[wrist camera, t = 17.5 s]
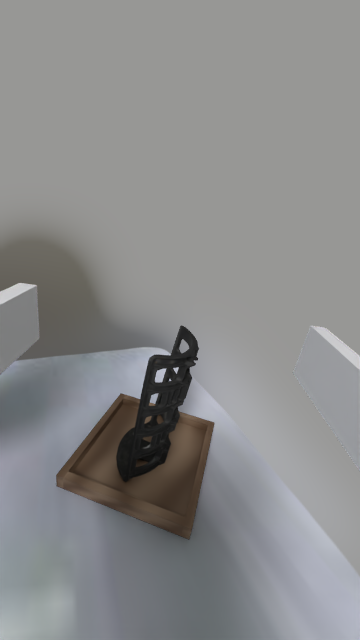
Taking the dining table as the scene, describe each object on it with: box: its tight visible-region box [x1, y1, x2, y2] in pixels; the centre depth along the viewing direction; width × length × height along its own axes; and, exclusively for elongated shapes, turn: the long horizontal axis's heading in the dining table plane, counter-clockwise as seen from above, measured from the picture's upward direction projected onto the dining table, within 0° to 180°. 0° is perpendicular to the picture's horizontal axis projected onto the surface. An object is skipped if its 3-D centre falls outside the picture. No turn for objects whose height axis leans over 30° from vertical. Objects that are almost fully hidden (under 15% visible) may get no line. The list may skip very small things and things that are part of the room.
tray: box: [56, 394, 214, 539], centre depth 41 cm, size 18×18×2 cm
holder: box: [116, 326, 199, 482], centre depth 37 cm, size 11×8×20 cm
